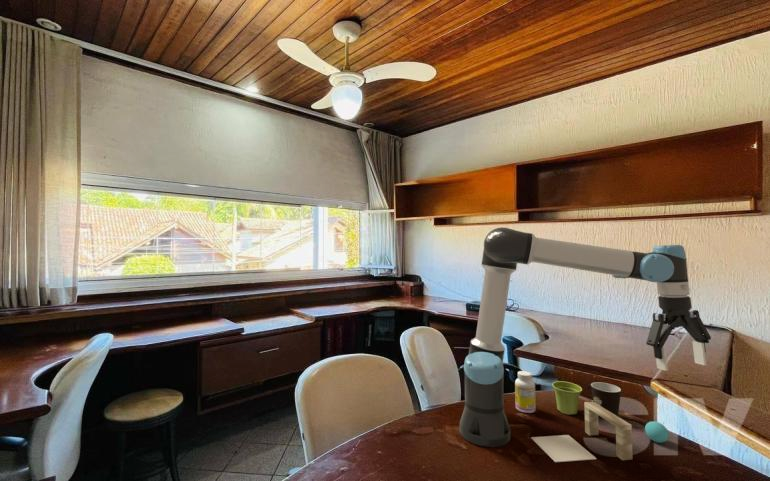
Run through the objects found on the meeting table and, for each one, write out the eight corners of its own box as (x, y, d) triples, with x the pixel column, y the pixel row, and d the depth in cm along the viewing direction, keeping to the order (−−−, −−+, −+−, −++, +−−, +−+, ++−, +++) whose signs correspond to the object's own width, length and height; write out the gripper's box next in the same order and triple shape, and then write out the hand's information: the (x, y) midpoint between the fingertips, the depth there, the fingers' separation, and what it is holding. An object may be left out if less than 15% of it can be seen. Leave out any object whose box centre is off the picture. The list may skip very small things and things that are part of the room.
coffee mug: (626, 424, 111) (626, 393, 111) (597, 421, 113) (596, 391, 113) (610, 408, 122) (610, 380, 123) (584, 406, 124) (583, 378, 124)
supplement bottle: (517, 403, 126) (516, 368, 127) (536, 407, 123) (535, 371, 123) (513, 411, 121) (513, 374, 121) (534, 415, 117) (533, 377, 118)
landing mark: (555, 462, 91) (555, 461, 91) (531, 438, 103) (531, 437, 103) (596, 459, 92) (596, 458, 92) (568, 435, 104) (568, 434, 104)
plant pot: (583, 409, 122) (582, 384, 122) (582, 420, 114) (581, 393, 114) (554, 403, 127) (553, 379, 127) (551, 413, 119) (550, 388, 119)
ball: (656, 447, 98) (656, 427, 98) (640, 436, 103) (640, 418, 104) (674, 445, 99) (673, 426, 99) (657, 435, 104) (656, 417, 104)
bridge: (622, 460, 92) (621, 425, 92) (585, 432, 106) (584, 402, 107) (632, 459, 92) (631, 424, 92) (594, 431, 107) (593, 401, 107)
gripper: (650, 300, 98) (658, 375, 96) (721, 293, 102) (730, 365, 101) (627, 297, 105) (634, 367, 104) (695, 291, 109) (702, 358, 108)
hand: (681, 366), depth 102 cm, fingers open, 13 cm apart
